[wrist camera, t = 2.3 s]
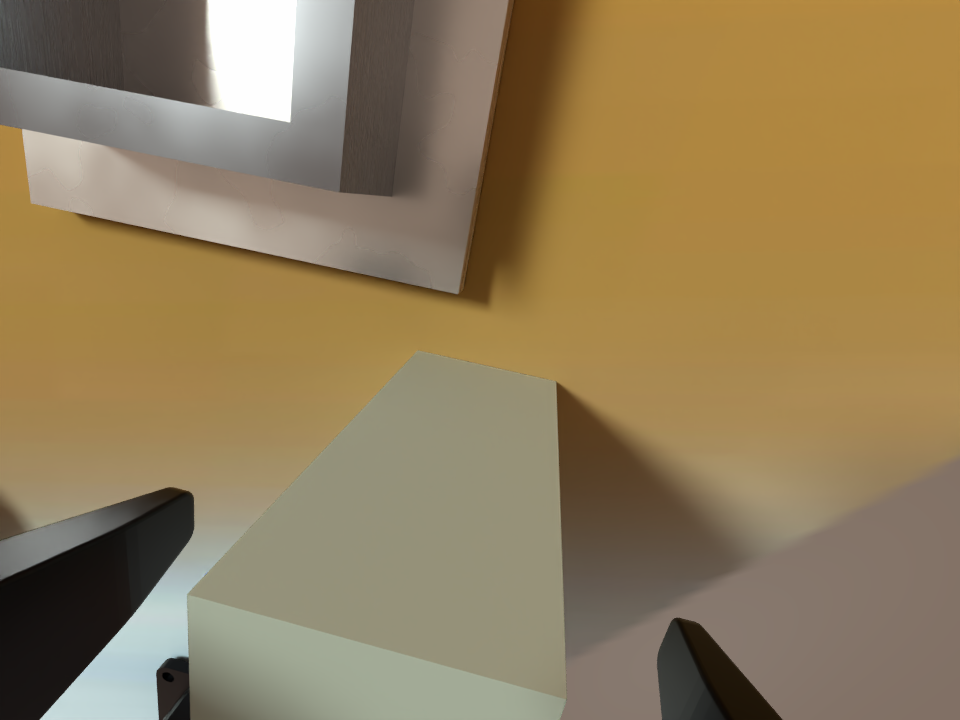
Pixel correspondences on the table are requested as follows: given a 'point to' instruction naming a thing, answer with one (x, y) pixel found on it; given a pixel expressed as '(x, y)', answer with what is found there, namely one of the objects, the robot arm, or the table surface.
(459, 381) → the rail post
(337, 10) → the bracket
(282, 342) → the table surface
